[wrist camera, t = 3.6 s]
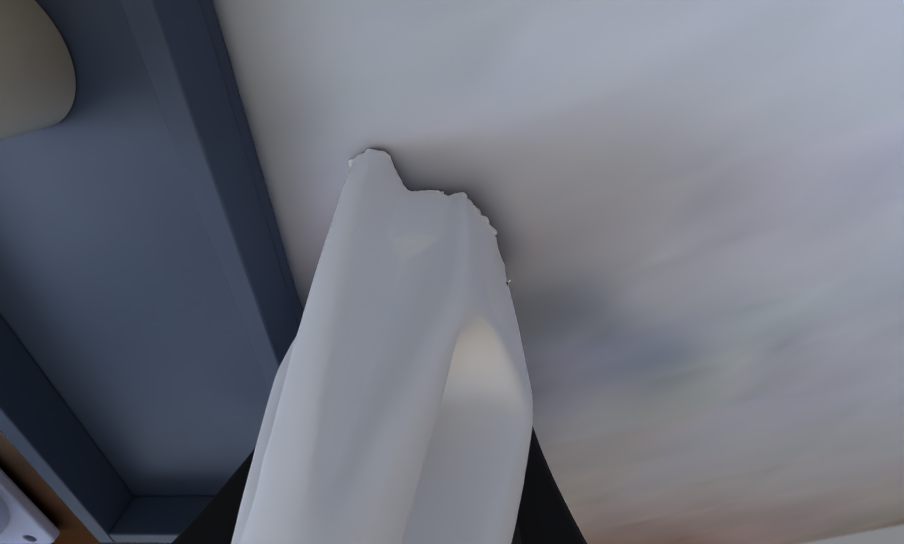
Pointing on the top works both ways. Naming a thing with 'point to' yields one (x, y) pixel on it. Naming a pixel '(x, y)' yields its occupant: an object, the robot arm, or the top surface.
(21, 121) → the bottle
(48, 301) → the tray
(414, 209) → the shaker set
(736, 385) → the top surface
